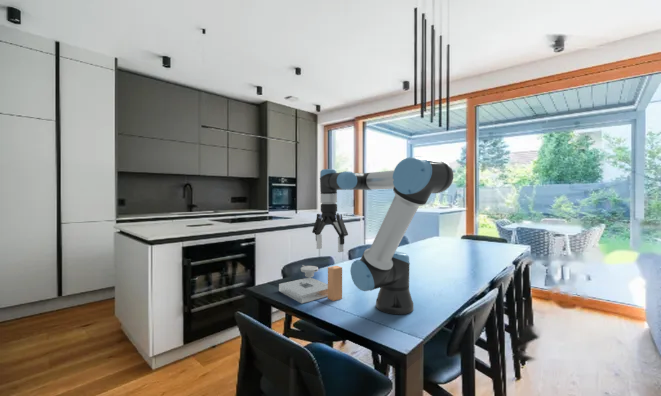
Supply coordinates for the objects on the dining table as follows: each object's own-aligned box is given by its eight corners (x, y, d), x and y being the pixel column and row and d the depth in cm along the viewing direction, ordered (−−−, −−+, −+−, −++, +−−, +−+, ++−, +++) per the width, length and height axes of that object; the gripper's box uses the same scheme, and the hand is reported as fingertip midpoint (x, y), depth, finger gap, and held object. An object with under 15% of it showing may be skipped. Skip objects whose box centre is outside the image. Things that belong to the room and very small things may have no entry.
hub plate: (334, 294, 138) (334, 286, 138) (301, 303, 127) (301, 295, 127) (310, 283, 154) (310, 277, 154) (279, 291, 143) (279, 283, 142)
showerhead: (307, 263, 168) (321, 265, 162) (307, 275, 168) (321, 278, 162) (296, 266, 161) (310, 269, 155) (296, 279, 161) (310, 283, 155)
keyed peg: (336, 296, 136) (336, 265, 136) (342, 298, 133) (342, 267, 133) (327, 298, 133) (327, 267, 133) (333, 301, 130) (333, 268, 130)
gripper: (355, 203, 129) (356, 252, 129) (315, 203, 147) (316, 246, 147) (344, 203, 124) (344, 254, 124) (304, 203, 141) (305, 248, 141)
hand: (329, 250), depth 135 cm, fingers open, 13 cm apart
